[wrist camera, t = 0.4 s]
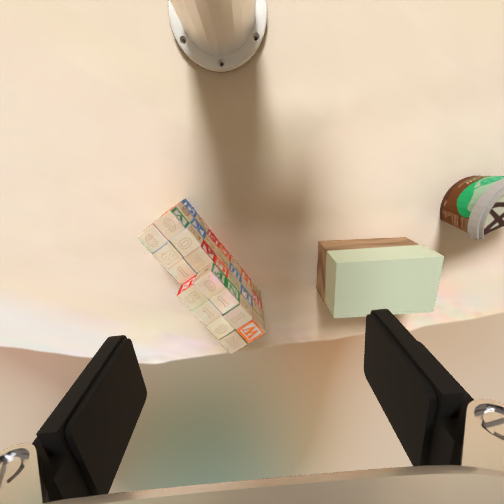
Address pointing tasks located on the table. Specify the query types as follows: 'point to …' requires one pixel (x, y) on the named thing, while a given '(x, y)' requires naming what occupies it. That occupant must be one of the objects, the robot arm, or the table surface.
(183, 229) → the stack of blocks
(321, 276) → the tower base slab
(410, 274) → the tower top slab
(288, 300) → the table surface
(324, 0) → the table surface
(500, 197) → the food container
